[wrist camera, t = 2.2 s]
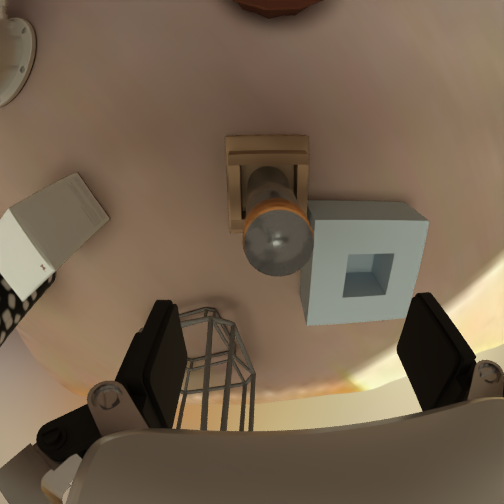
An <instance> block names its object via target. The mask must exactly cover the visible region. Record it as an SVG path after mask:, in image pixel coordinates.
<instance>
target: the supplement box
mask: <svg viewBox="0 0 504 504" xmlns="http://www.w3.org/2000/svg"><path fill="white" fill-rule="evenodd" d="M109 220H110V218H109V217H108V216H107V214H106V213H105V211H104V210H103V209H102V207H101V206H100V204H99V203H98V201H97V200H96V199H95V197H94V196H93V194H92V193H91V191H90V190H89V189H88V187H87V186H86V184H85V183H84V181H83V180H82V178H81V177H80V176H79V174H78V173H77V172H75V173H73V174H71V175H69V176H67V177H65V178H63V179H61V180H59V181H57V182H55V183H53V184H51V185H49V186H47V187H45V188H43V189H42V190H40V191H38V192H36V193H34V194H32V195H31V196H29V197H27V198H25V199H23V200H22V201H20V202H18V203H16V204H15V205H13V206H11V207H9V208H8V209H7V211H6V212H5V213H4V215H3V216H2V218H1V219H0V273H1V275H2V276H3V277H4V279H5V280H6V281H7V283H8V284H9V285H10V286H11V288H12V289H13V290H14V291H15V293H16V294H17V295H18V297H19V298H20V299H21V300H22V301H24V300H26V299H27V298H28V297H29V296H30V295H31V294H32V293H33V292H34V291H35V290H36V289H37V288H38V287H39V286H40V285H41V284H42V283H43V282H44V281H45V280H47V279H48V278H49V277H50V276H51V275H52V274H53V273H54V272H55V271H56V270H57V269H58V268H59V267H60V266H61V265H62V264H63V263H64V262H65V261H66V260H67V259H68V258H69V257H70V256H71V255H72V254H73V253H74V252H75V251H76V250H77V249H78V248H80V247H81V246H82V245H83V244H84V243H85V242H86V241H87V240H88V239H89V238H90V237H91V236H92V235H93V234H95V233H96V232H97V231H98V230H99V229H100V228H101V227H102V226H103V225H104V224H105V223H107V222H108V221H109Z"/></svg>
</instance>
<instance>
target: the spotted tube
mask: <svg viewBox="0 0 504 504" xmlns="http://www.w3.org/2000/svg"><path fill="white" fill-rule="evenodd" d="M55 277H56V271H55V272H54V273H53V274H52V275H51V276H50V277H49V278H48V279H47V280H45V281H44V282H43V283H42V284H41V285H40V286H39V287H38V288H37V289H36V290H35V291H34V292H33V293H32V294H31V295H30V296H29V297H28V298H27V299H26V300H24V301H22V300H21V299H20V298H19V297H18V295H17V294H16V293H15V291H14V290H13V289H12V288H11V286H10V285H9V284H8V283H7V281H6V280H5V279H4V277H3V276H2V275H1V273H0V347H1V345H2V344H3V343H4V341H5V340H6V339H7V337H8V336H9V335H10V333H11V332H12V331H13V330H14V328H15V327H16V326H17V325H18V323H19V322H20V321H21V320H22V318H23V317H24V316H25V315H26V314H27V312H28V311H29V310H30V309H31V308H32V306H33V305H34V304H35V303H36V302H37V300H38V299H39V298H40V297H41V296H42V295H43V294H44V292H45V291H46V290H47V289H48V288H49V287H50V286H51V285H52V283H53V282H54V280H55Z"/></svg>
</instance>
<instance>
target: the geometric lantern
mask: <svg viewBox="0 0 504 504" xmlns="http://www.w3.org/2000/svg"><path fill="white" fill-rule="evenodd" d="M202 311H205V313H204V317H201V318H196V319H191V320H185V321H180V323H181V328H183V327H187V326H190V325H194V324H198V323H202V322H206V321H208V332H207V345H206V356H205V357H200V358H196V359H189V358H187V361H191V364H190V368H187V367H186V370H188V372H187V378H186V383H185V389H184V391H183V390H181V391H180V393H181V394H183V398H182V402H181V407H180V412H179V417H178V422H177V427H176V429H180V428H181V422H182V417H183V411H184V406H185V402H186V397H187V394H194V393H201V392H203V397H202V412H201V428H200V430H206V431H207V416H208V415H207V414H208V396H209V391H215V390H222V389H224V398H223V408H222V418H221V428H220V431H227V419H228V408H229V396H230V388H234V387H240V386H243V392H242V404H241V416H240V429H239V431H244V419H245V405H246V391H247V384H248V383H249V382H250V381H251V392H250V412H249V430H248V431H253V424H254V400H255V378H256V373H255V370H254V368H253V366H252V363H251V361H250V358H249V356H248V354H247V351H246V349H245V346H244V344H243V341H242V339H241V336H240V334H239V331H238V329H237V327H236V324H235V323H234V322H232V321H229V320H225V319H222V318H220V316H219V314H218V313H217V311H216V309H211V308H206V307H205V308H202V309H199V310H195V311H192V312H188V313H184V314H181V315H179V318H180V317H184V316H188V315H191V314H195V313H199V312H202ZM208 311H211V312H213V316H207V313H208ZM216 323H218V324H221V326H222V328H223V329H224V331H225V333H226V335H227V336H228V338H229V340H230V342H229V344H228V342H227V340H226V339H225V337H224V335H223V334H222V332H221V330H220V329H219V327H218V325H217V324H216ZM213 324H214V326H215V328H216V329H217V331H218V333H219V334H220V336H221V338H222V339H223V341H224V343H225V344H226V346H227V347H228V349H229V351H226V352H222V353H218V354H214V355H211V348H212V332H213ZM225 325H230V326H231V332H230V335H229V333H228V331H227V329H226V327H225ZM142 331H143V328H141V329H140V331H139V332H142ZM235 336H236V339H237V341H238V343H239V346H240V348H241V351H242V353H243V355H244V358H245V360H246V362H247V365H248V367H249V368H248V367H247V366H246V365H245V364H244V363H243V362H242V361H241V360H240V359H239V358H238V357H237V356H236V345H235V344H234V340H235ZM225 354H228V359H227V360H223V361H220V362H216V363H212V364H210V363H211V358H212V357H216V356H220V355H225ZM203 359H205V365H204V366H199V367H195V368H192V367H193V361H198V360H203ZM234 359H236V360H237V361H238V362H239V363H240V364H241V365H242V366H243V367H244V368H245V369H246V370H247V371H249V372H250V373H251V375H250V376H249V378H248V379H247V380H246V381H245V380H244V378H243V376H242V374H241V373H240V371H239V369H238V367H237V365H236V363H235V361H234ZM226 362H227V369H226V379H225V385H224V386H217V387H211V388H209V379H210V366H214V365H218V364H222V363H226ZM232 363H233V365H234V367H235V369H236V371H237V373H238V374H239V376H240V378H241V380H242V382H241V383H236V384H231V374H232ZM202 368H205V369H204V383H203V389H196V390H189V391H187V386H188V381H189V375H190V371H193V370H198V369H202Z"/></svg>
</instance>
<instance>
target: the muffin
mask: <svg viewBox="0 0 504 504" xmlns="http://www.w3.org/2000/svg"><path fill="white" fill-rule="evenodd" d="M233 1H235V2H238V3H239V4H240V6H241V7H242V9H244V10H248V11H252V12H255V13H258V14H260V15H262V16H264V17H266V18H273V17H277V16H283V15H296V14H298V13H299V12H301V11H302V10H303V9H305V8H306V7H308V6H309V5H311V4H314V3H316V2H319V1H322V0H233Z"/></svg>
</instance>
